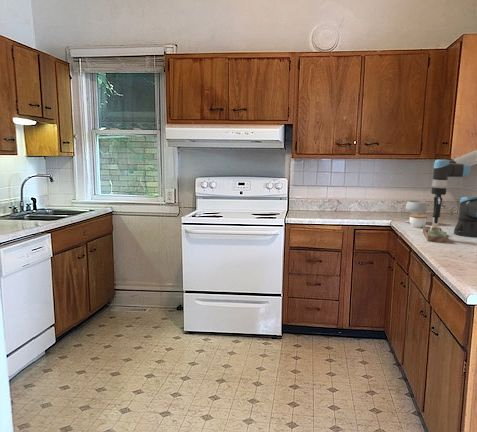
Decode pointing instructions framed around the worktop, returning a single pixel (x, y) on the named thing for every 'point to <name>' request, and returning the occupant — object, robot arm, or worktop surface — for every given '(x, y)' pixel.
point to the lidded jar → (418, 220)
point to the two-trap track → (434, 235)
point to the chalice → (416, 207)
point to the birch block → (435, 228)
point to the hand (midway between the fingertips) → (434, 228)
